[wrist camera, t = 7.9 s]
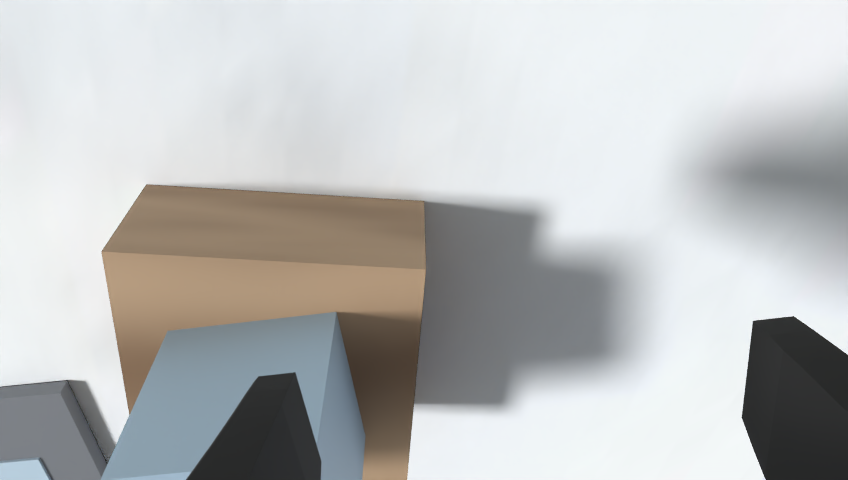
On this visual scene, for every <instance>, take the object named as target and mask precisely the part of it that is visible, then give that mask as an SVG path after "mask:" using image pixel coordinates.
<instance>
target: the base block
mask: <svg viewBox="0 0 848 480" xmlns="http://www.w3.org/2000/svg"><path fill="white" fill-rule="evenodd" d="M102 257H103V263H104V269H105V275H106V281H107V287H108V292H109V298H110V304H111V310H112V316H113V322H114V327H115V333H116V339H117V345H118V351H119V357H120V362H121V368H122V374H123V380H124V386H125V392H126V397H127V403H128V409H129V415H130V413H131V411H132V409H133V406H134V404H135V402H136V400H137V398H138V395H139V393H140V391H141V389H142V387H143V384H144V382H145V380H146V378H147V375H148V373H149V371H150V369H151V367H152V364H153V362H154V360H155V358H156V355H157V353H158V351H159V349H160V347H161V344H162V342H163V340H164V338H165V336H166V333H167V331H171V330H180V329H189V328H197V327H206V326H215V325H224V324H233V323H242V322H251V321H259V320H268V319H277V318H286V317H295V316H304V315H313V314H321V313H330V312H336V313H337V317H338V321H339V325H340V330H341V334H342V338H343V343H344V347H345V351H346V355H347V360H348V364H349V368H350V372H351V377H352V381H353V385H354V389H355V394H356V398H357V402H358V406H359V411H360V415H361V419H362V423H363V428H364V432H365V449H364V463H363V476H362V480H407V473H408V462H409V451H410V440H411V429H412V418H413V407H414V396H415V385H416V374H417V363H418V352H419V341H420V330H421V319H422V308H423V297H424V286H425V275H426V250H425V214H424V201H414V200H397V199H380V198H363V197H347V196H330V195H313V194H296V193H279V192H263V191H246V190H229V189H212V188H196V187H179V186H162V185H146V186H145V187H144V189H143V190H142V192H141V193H140V195H139V196H138V198H137V199H136V201H135V202H134V204H133V205H132V207H131V208H130V210H129V211H128V213H127V214H126V216H125V217H124V219H123V220H122V222H121V223H120V225H119V226H118V228H117V229H116V231H115V232H114V234H113V235H112V237H111V238H110V240H109V241H108V243H107V244H106V246H105V247H104V249H103V250H102Z"/></svg>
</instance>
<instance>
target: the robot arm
mask: <svg viewBox="0 0 848 480" xmlns="http://www.w3.org/2000/svg"><path fill="white" fill-rule="evenodd" d="M742 419H743V422H744V425H745V427H746V430H747V433H748V436H749V438H750V441H751V444H752V446H753V449H754V452H755V454H756V457H757V459H758V462H759V464H760V467H761V469H762V472H763V474H764V477H765V479H766V480H848V355H847V354H846V353H844V352H843V351H842V350H840V349H839V348H837V347H836V346H835V345H833V344H832V343H831V342H829V341H828V340H826V339H825V338H824V337H822V336H821V335H819V334H818V333H817V332H815V331H814V330H813V329H811V328H810V327H808V326H807V325H805V324H804V323H803V322H801V321H800V320H798V319H797V318H795V317H794V316H793V317H784V318H775V319H766V320H757V321H753V326H752V335H751V344H750V352H749V361H748V369H747V378H746V386H745V395H744V404H743V412H742ZM186 480H321V458H320V455H319V451H318V448H317V444H316V441H315V438H314V434H313V431H312V427H311V424H310V420H309V417H308V414H307V410H306V407H305V403H304V400H303V396H302V393H301V390H300V386H299V383H298V379H297V376H296V372H293V373H284V374H275V375H266V376H258V377H257V379H256V380H255V381H254V382H253V384H252V385H251V387H250V388H249V389H248V391H247V392H246V394H245V395H244V397H243V398H242V400H241V401H240V403H239V404H238V406H237V407H236V409H235V410H234V412H233V413H232V415H231V416H230V418H229V419H228V421H227V422H226V424H225V425H224V427H223V428H222V430H221V431H220V432H219V434H218V435H217V437H216V438H215V440H214V441H213V443H212V444H211V445H210V447H209V448H208V450H207V451H206V452H205V454H204V455H203V457H202V458H201V459H200V461H199V462H198V463H197V465H196V466H195V468H194V469H193V470H192V472H191V473H190V475H189V476H188V477H187V479H186Z"/></svg>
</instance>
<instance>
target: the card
mask: <svg viewBox="0 0 848 480" xmlns="http://www.w3.org/2000/svg"><path fill="white" fill-rule="evenodd" d="M106 466H107V463H106V461H105V459H104V457H103V454H102V452H101V450H100V448H99V446H98V444H97V442H96V440H95V438H94V436H93V434H92V431H91V429H90V427H89V425H88V423H87V421H86V419H85V417H84V415H83V413H82V411H81V408H80V406H79V404H78V402H77V400H76V398H75V396H74V394H73V392H72V390H71V388H70V385H69V383H68V381H59V382H49V383H39V384H29V385H19V386H9V387H0V480H101V477H102V475H103V473H104V471H105V469H106Z"/></svg>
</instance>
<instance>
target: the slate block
mask: <svg viewBox="0 0 848 480" xmlns="http://www.w3.org/2000/svg"><path fill="white" fill-rule="evenodd" d="M293 372H296V376H297V379H298V383H299V386H300V390H301V393H302V396H303V400H304V403H305V407H306V410H307V414H308V417H309V420H310V424H311V427H312V431H313V434H314V438H315V441H316V444H317V448H318V451H319V455H320V458H321V480H362V476H363V463H364V449H365V432H364V428H363V423H362V419H361V415H360V411H359V406H358V402H357V398H356V394H355V389H354V385H353V381H352V377H351V372H350V368H349V364H348V360H347V355H346V351H345V347H344V343H343V338H342V334H341V330H340V325H339V321H338V317H337V313H336V312H330V313H321V314H313V315H304V316H295V317H286V318H277V319H268V320H259V321H251V322H242V323H233V324H224V325H215V326H206V327H197V328H189V329H180V330H171V331H167V333H166V336H165V338H164V340H163V342H162V344H161V347H160V349H159V351H158V353H157V355H156V358H155V360H154V362H153V364H152V367H151V369H150V371H149V373H148V375H147V378H146V380H145V382H144V384H143V387H142V389H141V391H140V393H139V395H138V398H137V400H136V402H135V404H134V406H133V409H132V411H131V413H130V415H129V418H128V420H127V422H126V424H125V426H124V429H123V431H122V433H121V435H120V438H119V440H118V442H117V444H116V446H115V449H114V451H113V453H112V455H111V458H110V460H109V462H108V464H107V466H106V469H105V471H104V473H103V475H102V477H101V480H186V479H187V477H188V476H189V475H190V473H191V472H192V470H193V469H194V468H195V466H196V465H197V463H198V462H199V461H200V459H201V458H202V457H203V455H204V454H205V452H206V451H207V450H208V448H209V447H210V445H211V444H212V443H213V441H214V440H215V438H216V437H217V435H218V434H219V432H220V431H221V430H222V428H223V427H224V425H225V424H226V422H227V421H228V419H229V418H230V416H231V415H232V413H233V412H234V410H235V409H236V407H237V406H238V404H239V403H240V401H241V400H242V398H243V397H244V395H245V394H246V392H247V391H248V389H249V388H250V387H251V385H252V384H253V382H254V381H255V380H256V379H257V377H258V376H266V375H275V374H284V373H293Z"/></svg>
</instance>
